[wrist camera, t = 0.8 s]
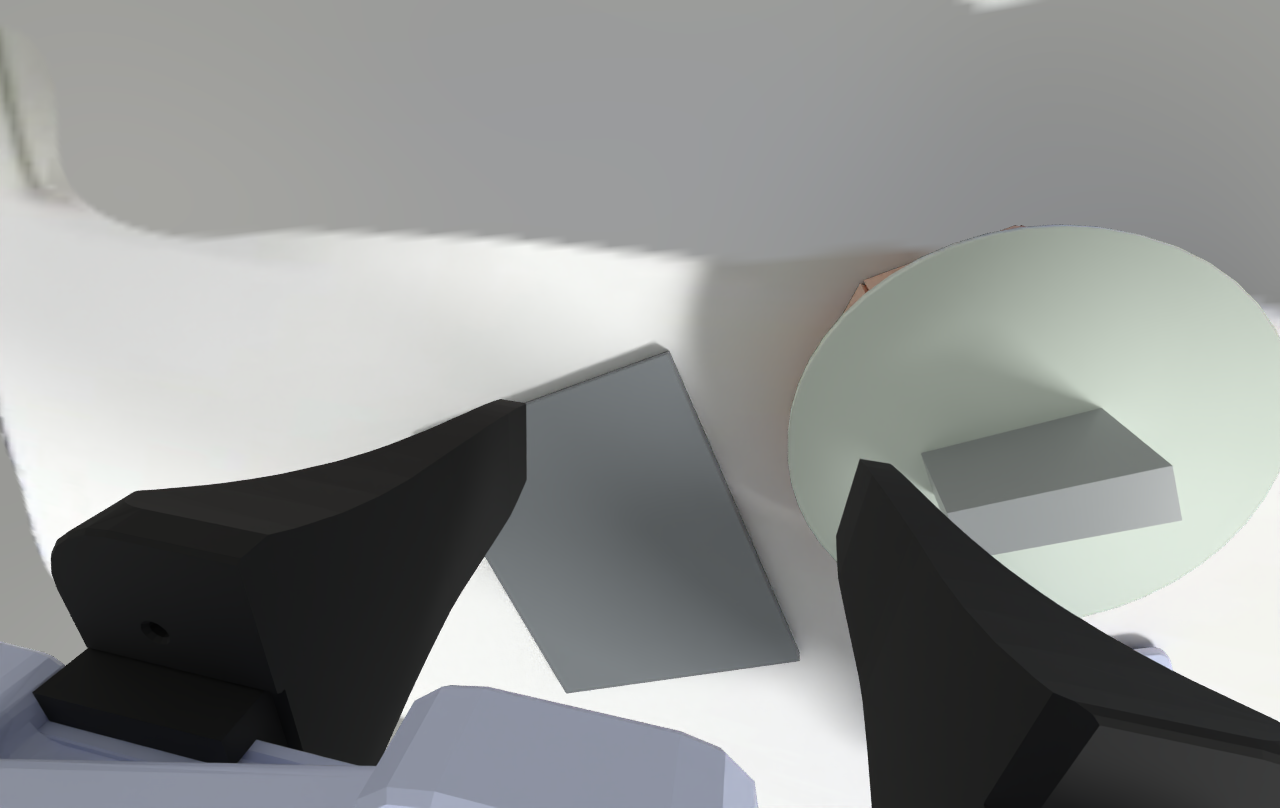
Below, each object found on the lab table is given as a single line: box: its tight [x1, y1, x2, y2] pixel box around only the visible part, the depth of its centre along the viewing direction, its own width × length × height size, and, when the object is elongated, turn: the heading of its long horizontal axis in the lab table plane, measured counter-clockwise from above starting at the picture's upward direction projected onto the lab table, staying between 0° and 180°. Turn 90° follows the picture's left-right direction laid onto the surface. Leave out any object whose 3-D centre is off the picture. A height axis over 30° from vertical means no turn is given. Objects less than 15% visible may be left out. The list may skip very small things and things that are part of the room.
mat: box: [485, 351, 800, 693], centre depth 27 cm, size 16×13×1 cm
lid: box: [788, 225, 1280, 618], centre depth 17 cm, size 14×14×4 cm
